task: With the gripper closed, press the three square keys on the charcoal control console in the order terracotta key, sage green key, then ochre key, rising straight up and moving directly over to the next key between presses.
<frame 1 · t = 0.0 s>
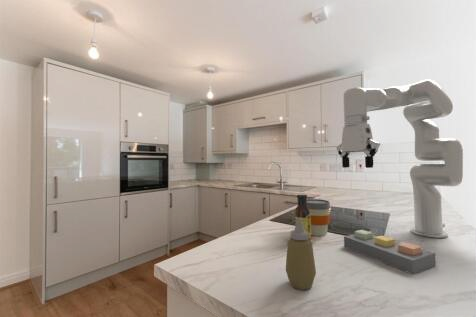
hand: (357, 167, 82), 31 cm above the countertop, tool pointing down, fingers open, 9 cm apart
sauce bottle: (303, 241, 93), on the countertop
terracotta key: (409, 249, 71), point 5 cm above the countertop, slide at 0.0 cm
sage key: (363, 234, 85), point 5 cm above the countertop, slide at 0.0 cm
reusable coffee cup: (316, 233, 104), on the countertop
console: (385, 255, 78), on the countertop
ochre key: (384, 241, 78), point 5 cm above the countertop, slide at 0.0 cm
squeeze bottle: (300, 285, 60), on the countertop
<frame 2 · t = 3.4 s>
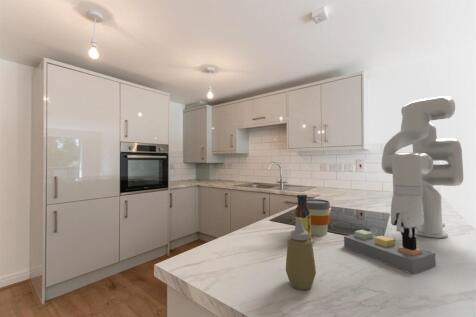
hand: (409, 248, 71), 5 cm above the countertop, tool pointing down, fingers closed
terracotta key: (409, 251, 71), point 4 cm above the countertop, slide at 0.8 cm, touching gripper
everything else where it was.
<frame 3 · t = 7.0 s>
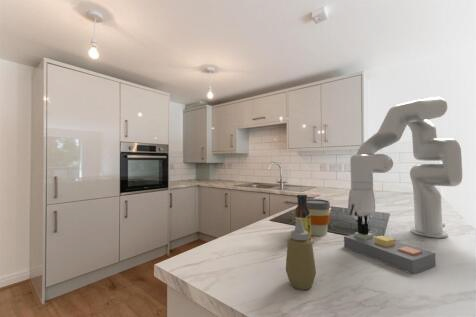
hand: (363, 233, 85), 5 cm above the countertop, tool pointing down, fingers closed
terracotta key: (409, 253, 71), point 4 cm above the countertop, slide at 1.3 cm
sage key: (363, 236, 85), point 4 cm above the countertop, slide at 0.6 cm, touching gripper
everything else where it was.
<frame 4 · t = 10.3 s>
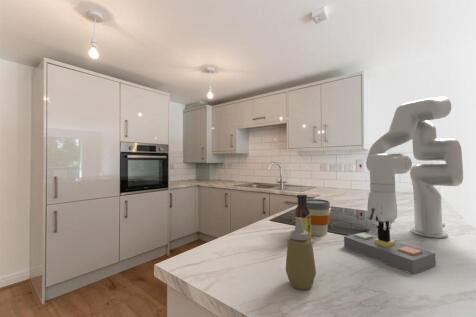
hand: (384, 240, 78), 5 cm above the countertop, tool pointing down, fingers closed
sage key: (363, 238, 85), point 4 cm above the countertop, slide at 1.3 cm
ochre key: (384, 243, 78), point 4 cm above the countertop, slide at 0.8 cm, touching gripper
everything else where it was.
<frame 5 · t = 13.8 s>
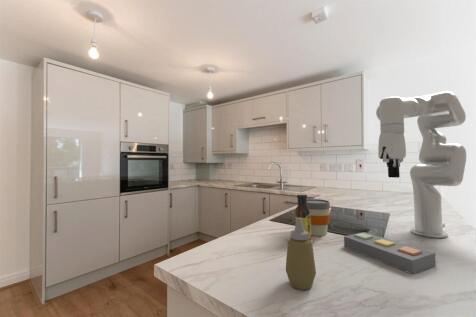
hand: (393, 177, 84), 27 cm above the countertop, tool pointing down, fingers closed
ochre key: (384, 244, 78), point 4 cm above the countertop, slide at 1.3 cm
everything else where it was.
at the end: terracotta key slide at 1.3 cm; sage key slide at 1.3 cm; ochre key slide at 1.3 cm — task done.
